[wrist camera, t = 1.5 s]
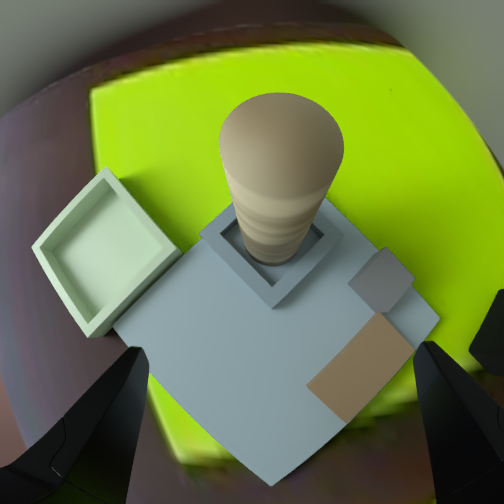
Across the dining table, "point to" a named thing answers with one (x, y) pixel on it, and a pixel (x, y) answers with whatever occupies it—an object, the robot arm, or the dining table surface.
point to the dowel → (278, 170)
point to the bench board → (278, 337)
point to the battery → (491, 338)
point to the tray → (104, 253)
